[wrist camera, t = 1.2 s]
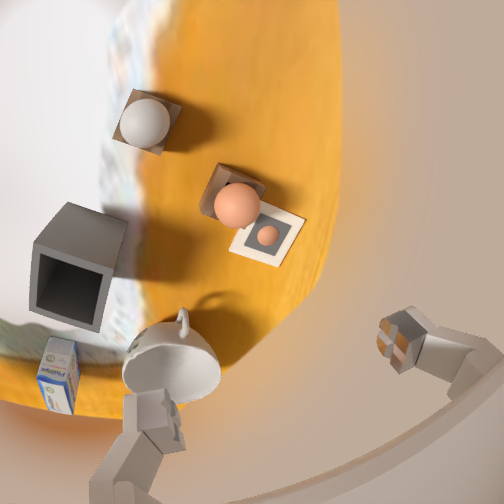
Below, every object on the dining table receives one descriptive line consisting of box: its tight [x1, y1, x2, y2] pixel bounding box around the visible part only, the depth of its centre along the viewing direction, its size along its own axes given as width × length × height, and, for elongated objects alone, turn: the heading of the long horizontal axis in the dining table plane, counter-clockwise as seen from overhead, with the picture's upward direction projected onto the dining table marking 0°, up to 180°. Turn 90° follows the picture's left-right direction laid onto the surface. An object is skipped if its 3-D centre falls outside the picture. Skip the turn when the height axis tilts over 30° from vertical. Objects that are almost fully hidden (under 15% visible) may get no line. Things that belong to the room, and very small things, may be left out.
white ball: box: [120, 99, 170, 148], centre depth 23 cm, size 4×4×4 cm
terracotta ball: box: [214, 183, 260, 229], centre depth 29 cm, size 4×4×4 cm
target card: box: [228, 200, 305, 267], centre depth 36 cm, size 7×7×1 cm
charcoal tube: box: [29, 202, 128, 333], centre depth 27 cm, size 8×8×10 cm
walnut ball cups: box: [112, 89, 266, 229], centre depth 28 cm, size 9×16×3 cm, turn 63°
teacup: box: [122, 307, 221, 404], centre depth 36 cm, size 15×12×8 cm
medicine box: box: [36, 337, 80, 415], centre depth 34 cm, size 8×4×9 cm, turn 164°
